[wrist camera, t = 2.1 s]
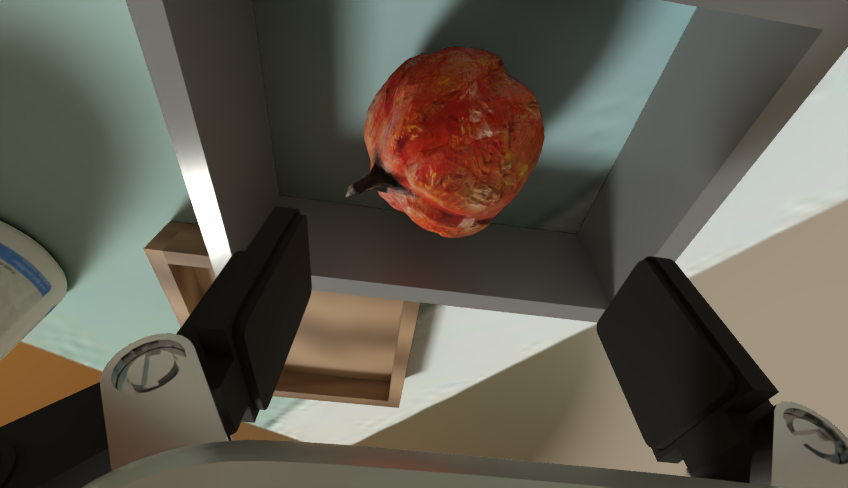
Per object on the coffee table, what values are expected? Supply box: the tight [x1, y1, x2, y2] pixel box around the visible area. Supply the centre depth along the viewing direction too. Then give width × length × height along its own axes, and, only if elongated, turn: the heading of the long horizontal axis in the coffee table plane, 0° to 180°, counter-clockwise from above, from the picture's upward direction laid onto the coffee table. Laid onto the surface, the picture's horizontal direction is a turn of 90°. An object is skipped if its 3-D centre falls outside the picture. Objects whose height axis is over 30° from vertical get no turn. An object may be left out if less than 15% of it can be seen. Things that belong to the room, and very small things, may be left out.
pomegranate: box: [345, 46, 544, 238], centre depth 15 cm, size 7×7×10 cm
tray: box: [144, 222, 420, 408], centre depth 27 cm, size 16×16×3 cm
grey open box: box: [126, 0, 848, 322], centre depth 15 cm, size 14×20×6 cm
